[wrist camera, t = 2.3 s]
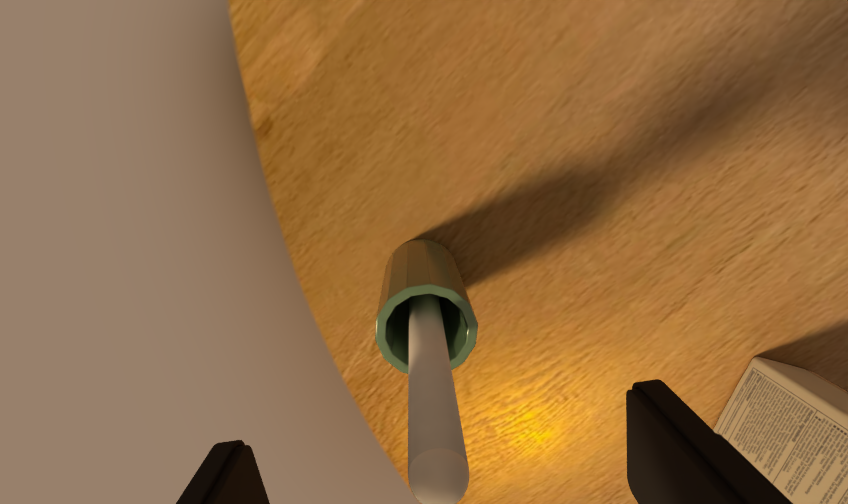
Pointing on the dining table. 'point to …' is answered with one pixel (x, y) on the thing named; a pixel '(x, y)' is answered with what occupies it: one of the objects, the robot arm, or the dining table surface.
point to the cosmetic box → (791, 430)
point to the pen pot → (415, 275)
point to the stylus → (433, 410)
